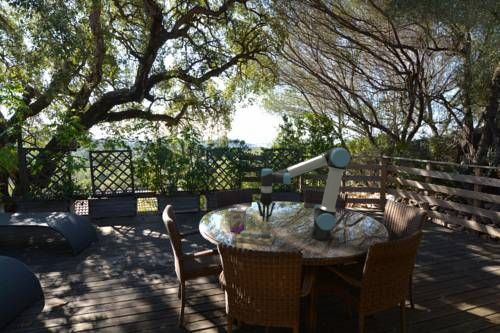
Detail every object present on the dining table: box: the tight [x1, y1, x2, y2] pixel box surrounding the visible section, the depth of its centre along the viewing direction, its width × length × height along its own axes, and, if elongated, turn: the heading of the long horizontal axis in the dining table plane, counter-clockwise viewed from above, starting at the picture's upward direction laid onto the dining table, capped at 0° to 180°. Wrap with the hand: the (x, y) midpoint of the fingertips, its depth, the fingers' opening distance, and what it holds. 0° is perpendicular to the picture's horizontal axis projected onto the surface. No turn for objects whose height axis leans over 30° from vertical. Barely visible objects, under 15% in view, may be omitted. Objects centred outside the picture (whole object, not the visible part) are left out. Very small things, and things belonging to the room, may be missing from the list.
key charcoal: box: [261, 231, 272, 239], centre depth 211 cm, size 5×5×3 cm
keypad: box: [235, 231, 276, 246], centre depth 213 cm, size 24×14×3 cm, turn 75°
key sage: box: [241, 230, 252, 237], centre depth 215 cm, size 5×5×3 cm
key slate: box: [251, 230, 262, 238], centre depth 213 cm, size 5×5×3 cm
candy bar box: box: [229, 208, 247, 234], centre depth 231 cm, size 11×5×16 cm, turn 70°
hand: (265, 226), depth 211 cm, fingers closed
